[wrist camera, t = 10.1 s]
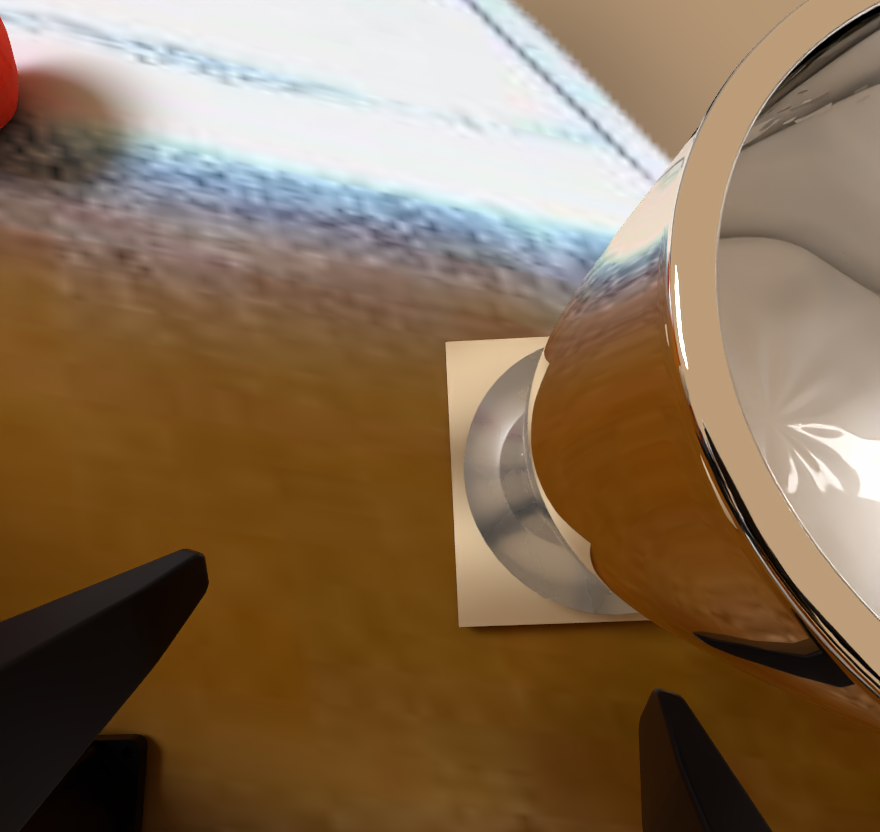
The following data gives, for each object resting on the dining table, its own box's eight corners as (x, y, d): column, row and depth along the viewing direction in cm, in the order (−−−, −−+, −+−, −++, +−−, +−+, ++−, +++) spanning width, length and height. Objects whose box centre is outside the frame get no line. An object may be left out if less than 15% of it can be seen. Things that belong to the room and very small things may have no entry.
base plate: (750, 610, 18) (763, 616, 17) (458, 621, 18) (459, 627, 18) (704, 334, 20) (714, 328, 19) (445, 347, 21) (445, 341, 20)
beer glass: (652, 382, 18) (1519, -148, 3) (675, 558, 17) (2299, 984, 2) (482, 389, 18) (588, -74, 4) (492, 564, 17) (729, 989, 2)
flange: (748, 602, 17) (767, 609, 16) (470, 613, 18) (471, 620, 17) (705, 339, 19) (719, 330, 18) (457, 352, 20) (457, 343, 19)
